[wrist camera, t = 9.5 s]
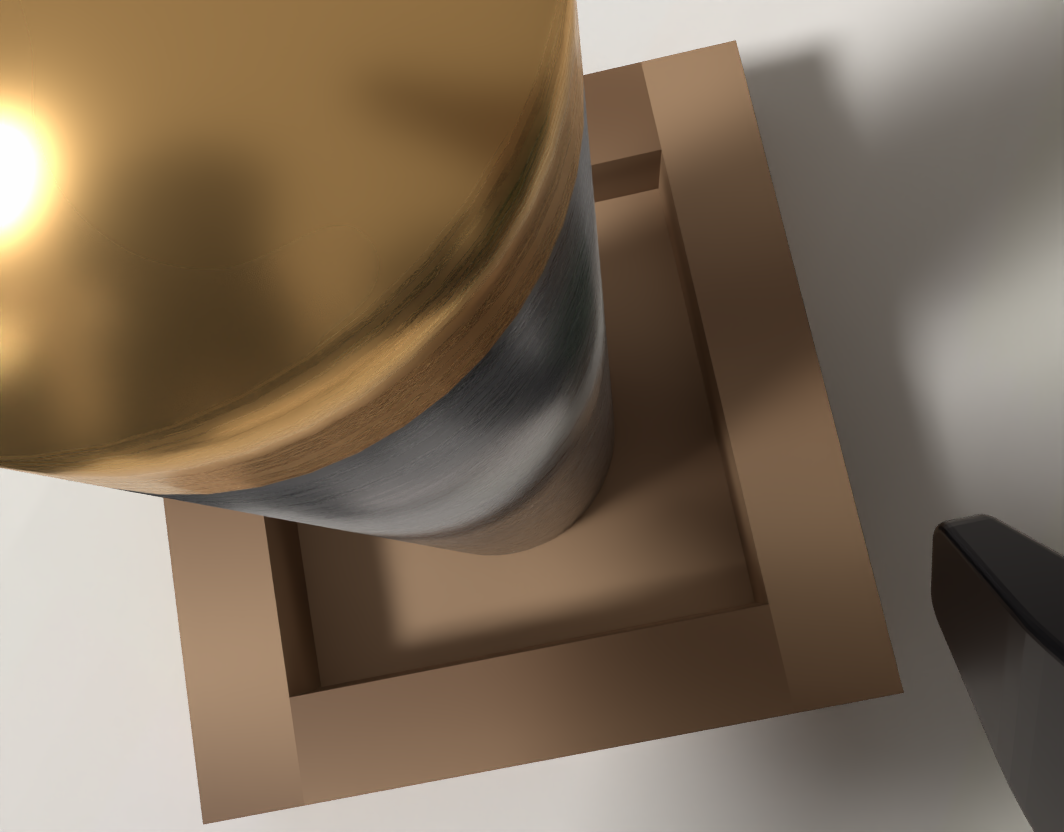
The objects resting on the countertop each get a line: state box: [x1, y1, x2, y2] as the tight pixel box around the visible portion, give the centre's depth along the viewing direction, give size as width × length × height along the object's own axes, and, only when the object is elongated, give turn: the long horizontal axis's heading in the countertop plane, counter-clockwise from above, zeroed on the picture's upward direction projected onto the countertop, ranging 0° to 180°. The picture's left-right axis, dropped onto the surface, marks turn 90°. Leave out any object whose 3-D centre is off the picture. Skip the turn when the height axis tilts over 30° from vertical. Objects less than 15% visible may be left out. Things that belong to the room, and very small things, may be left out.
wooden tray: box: [163, 40, 904, 824], centre depth 16 cm, size 10×10×2 cm
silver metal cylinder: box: [0, 0, 614, 555], centre depth 10 cm, size 4×4×12 cm
